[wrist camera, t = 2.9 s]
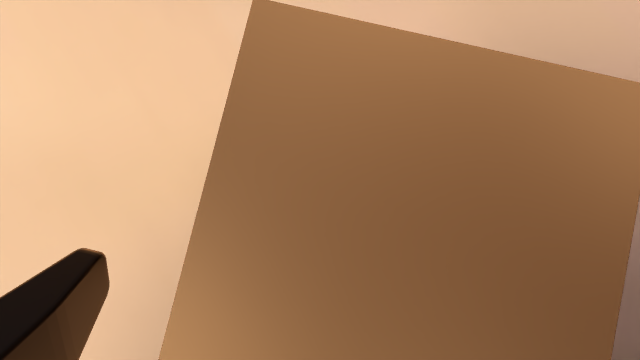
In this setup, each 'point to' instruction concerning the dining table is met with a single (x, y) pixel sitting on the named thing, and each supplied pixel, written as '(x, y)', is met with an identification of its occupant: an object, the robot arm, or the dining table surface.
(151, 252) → the dining table surface
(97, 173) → the dining table surface
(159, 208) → the dining table surface
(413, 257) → the walnut post
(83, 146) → the dining table surface
